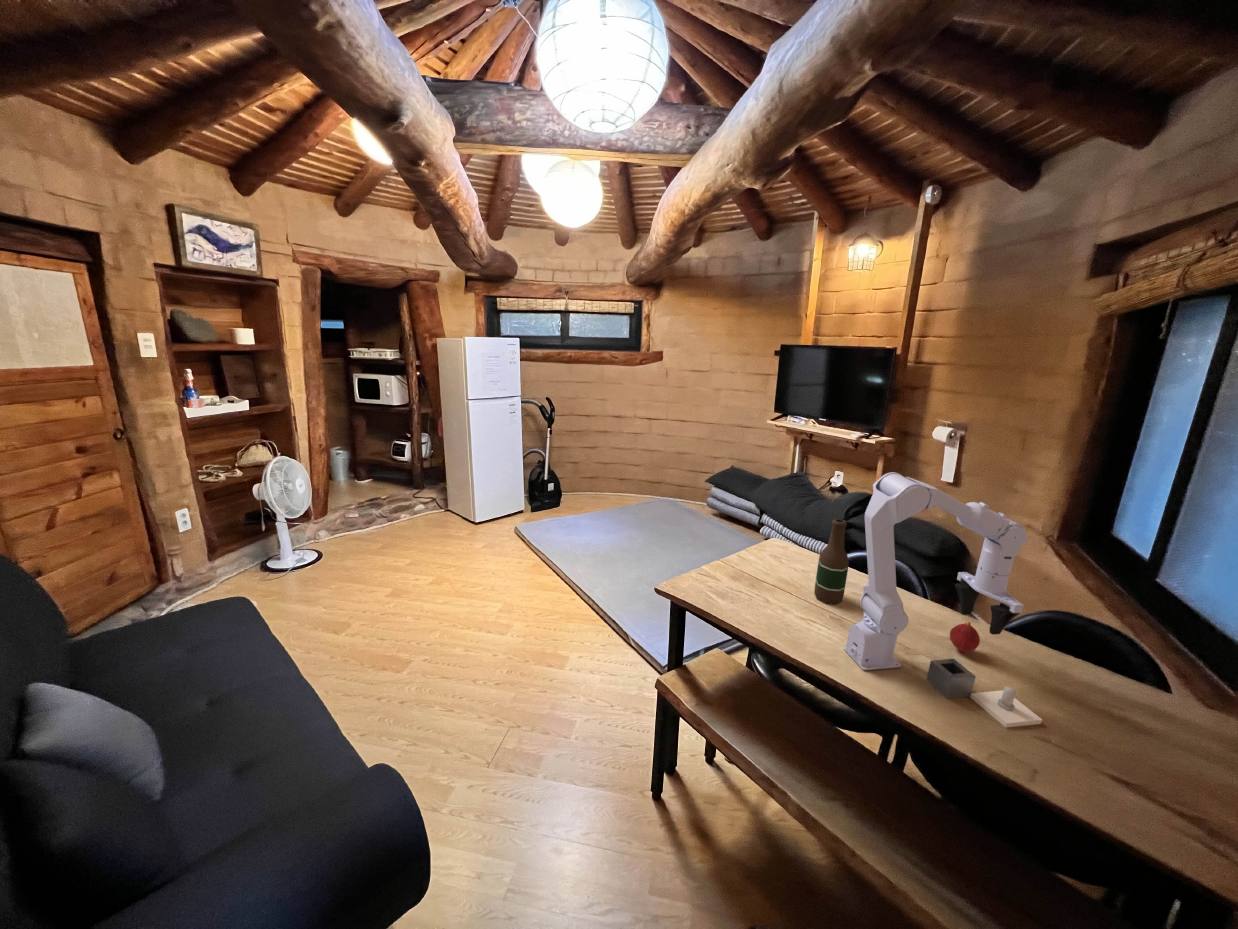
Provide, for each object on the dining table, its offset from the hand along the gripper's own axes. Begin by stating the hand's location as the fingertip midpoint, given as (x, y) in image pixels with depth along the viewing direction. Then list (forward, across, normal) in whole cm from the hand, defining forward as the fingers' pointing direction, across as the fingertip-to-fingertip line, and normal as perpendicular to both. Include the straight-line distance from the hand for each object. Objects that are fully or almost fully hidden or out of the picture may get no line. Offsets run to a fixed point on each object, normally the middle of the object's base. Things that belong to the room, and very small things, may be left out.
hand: (979, 623), depth 108 cm
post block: (+10, -15, +7) cm, 19 cm away
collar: (+10, -8, +13) cm, 18 cm away
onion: (+10, +3, -1) cm, 10 cm away
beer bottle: (+10, +29, +18) cm, 36 cm away
